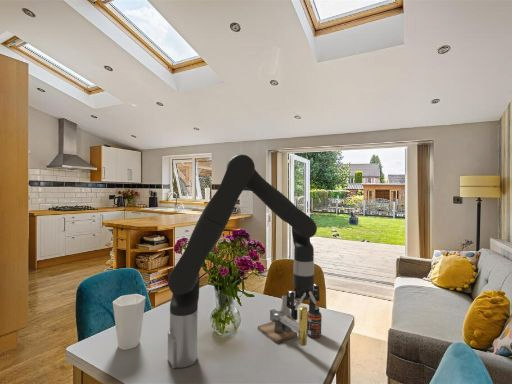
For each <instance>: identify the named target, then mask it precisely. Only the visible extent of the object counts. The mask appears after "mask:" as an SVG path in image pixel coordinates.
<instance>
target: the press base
mask: <svg viewBox="0 0 512 384" xmlns="http://www.w3.org/2000/svg"><path fill="white" fill-rule="evenodd" d="M285 316H286V317H288V318H289V319H291V317H290V316H289V315H285ZM257 330H259V331H260V332H261V333H262V334H263V335H265V336H266V337H267V338H269V339H270V340H271V341H272V342H274V343H275V344H277V345H278V344H280V343H283V342H286V341H288V340H291V339H292V338H295V337H297V336H298V333H297V332H296V331H294V330H293V329H291V328H290V327H288V326H287V325H285V324H284V323H282V322H280V321H275V322H272V321H270V322H267V323H264V324H261V325H258V326H257Z"/></svg>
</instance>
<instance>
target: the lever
mask: <svg viewBox="0 0 512 384" xmlns="http://www.w3.org/2000/svg"><path fill="white" fill-rule="evenodd" d="M307 312H308V307H307V306H304V305H303V306H298V322H296V321H295V320H294V319H292V320H291V319H289V318H288V317H286V316H285V313H284V312H281V311H280V310H276V309H274V308H273V309H270V310H269V321H270V322H275V321H280V322H282V323H284V324H285V325H287V326H288V327H290V328H291V329H292V330H293V331H295V332H296V333H297V334H298V345H299V346H302V347H303V346H304V347H305V346H307V344H308V335H307Z"/></svg>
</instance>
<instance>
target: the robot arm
mask: <svg viewBox="0 0 512 384" xmlns="http://www.w3.org/2000/svg"><path fill="white" fill-rule="evenodd" d="M225 170H226V171H225V172H224V175H223V177H222V180H221V182H220V184H219V186H218V188H217V190H216V192H215V193H214V194H213V196H212V197H211V198H210V200H209V201H208V202H207V204H206V206H205V207H204V209H203V210H202V212H201V214H200V216H199V218H198V220H197V222H196V224H195V226H194V229H193V230H192V232H191V235H190V237H189V240H188V242H187V244H186V247H185V249H184V251H183V253H182V255H181V256H180V258H179V260H178V261H177V262H176V264H175V266H174V267H173V269H171V272H170V273H169V275H168V277H167V287H168V290H169V291H171V293H172V296H171V301H170V305H169V331H168V332H167V361H168V362H169V364H170V366H171V368H172V369H177V368H179V369H180V368H181V369H182V368H183V369H184V368H187V367H190V366H192V365H193V364H195V363H196V362H197V360H198V314H199V313H198V312H199V311H198V307H199V306H198V305H199V304H198V303H199V299H200V271H201V270H202V267H203V264H204V262H205V260H206V259H207V257H208V256H209V255H210V253H211V251H212V250H213V249H214V247H215V245H216V244H217V243H218V241H219V240H220V239H221V236H222V234H223V232H224V230H225V229H226V226H227V224H228V223H229V221H230V218H231V216H232V214H233V212H234V209H235V207H236V204H237V202H238V200H239V198H240V197H241V194H242V193H243V191H244V189H245V188H247V189H248V190H250V191H251V192H252V193H253V194H254V195H255V196H256V197H258V199H259V200H260V201H261V202H263V204H265V206H266V207H268V209H269V210H271V212H272V213H274V214H275V215H276V216H277V217H278V218H279V219H280V220H281V221H283V222H284V223H287V224H288V225H289V226H290V227H291V235H292V242H293V248H294V249H293V252H294V253H293V270H292V271H293V275H292V276H293V277H292V282H293V283H292V284H293V285H294V289H293V290H287V292H286V296H287V305H286V306H287V307H288V308H290V312H291V317H292V320H293V321H297V320H299V307H300V305H301V304H302V302H305V301H309V302H308V311H309V313H311V314H314V313H315V306H316V304H317V302H319V301H320V300H321V299H320V297H321V296H320V285H319V284H316V283H315V262H314V258H315V257H314V256H315V252H314V250H315V249H314V246H313V243H311V238H312V237H314V236H315V235H316V233H317V231H318V227H317V224H316V222H315V221H314V219H313V218H311V217H310V216H309V215H307V214H306V213H305V212H304V211H302V210H301V209H299V208H298V207H297V206H296V205H295V204H294V203H293V202H292V201H291V200H290V199H289V198H288V197H286V196H285V195H284V194H283V193H282V192H280V190H279V189H277V188H275V187H274V186H273V185H271V184H270V183H269V182H268V181H267V180H265V178H263V176H262V175H260V174H259V172H258V171H257V170H256V168H255V163H254V160H253V159H252V158H251V157H250V156H249V155H246V154H243V153H242V154H236V155H234V156H232V157H231V158H229V160H228V161H227V164H226V169H225Z"/></svg>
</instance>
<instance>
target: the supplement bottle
mask: <svg viewBox="0 0 512 384" xmlns="http://www.w3.org/2000/svg"><path fill="white" fill-rule="evenodd" d="M322 316H323V315H322V312H320V307H319V306H317V305H315V313H314V314H311V313H309V310H307V337H309V338H311V339H312V338H313V339H318V338H321V336H322V318H323V317H322Z"/></svg>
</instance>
